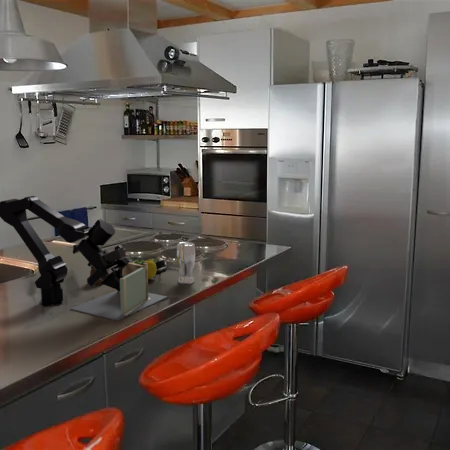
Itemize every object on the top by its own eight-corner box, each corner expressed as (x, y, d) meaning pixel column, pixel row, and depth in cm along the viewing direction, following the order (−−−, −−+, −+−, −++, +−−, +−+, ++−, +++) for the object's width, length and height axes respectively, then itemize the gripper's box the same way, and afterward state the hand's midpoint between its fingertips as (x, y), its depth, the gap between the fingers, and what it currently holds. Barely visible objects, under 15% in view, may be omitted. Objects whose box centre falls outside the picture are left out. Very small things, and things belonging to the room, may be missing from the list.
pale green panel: (142, 298, 180) (141, 267, 178) (146, 298, 179) (145, 267, 177) (120, 312, 166) (119, 279, 164) (124, 313, 165) (123, 279, 163)
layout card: (117, 320, 162) (117, 319, 162) (70, 309, 172) (70, 308, 172) (167, 297, 184) (167, 296, 184) (123, 288, 194) (123, 287, 194)
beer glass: (174, 280, 204) (174, 242, 202) (191, 278, 207) (191, 241, 204) (180, 285, 198) (180, 246, 195) (198, 283, 201) (197, 244, 198)
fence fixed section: (149, 299, 181) (148, 263, 179) (146, 300, 180) (145, 264, 177) (119, 291, 190) (118, 257, 187) (116, 292, 188) (115, 257, 186)
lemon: (149, 276, 210) (149, 257, 208) (159, 279, 206) (159, 259, 205) (139, 279, 206) (138, 259, 204) (149, 282, 202) (148, 261, 201)
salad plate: (119, 276, 211) (119, 265, 210) (120, 265, 228) (120, 254, 228) (168, 274, 214) (168, 263, 213) (165, 263, 232) (165, 252, 231)
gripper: (94, 244, 159) (128, 283, 158) (123, 233, 176) (154, 268, 175) (72, 267, 162) (105, 306, 161) (103, 254, 180) (133, 288, 179)
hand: (126, 291), depth 169 cm, fingers closed
